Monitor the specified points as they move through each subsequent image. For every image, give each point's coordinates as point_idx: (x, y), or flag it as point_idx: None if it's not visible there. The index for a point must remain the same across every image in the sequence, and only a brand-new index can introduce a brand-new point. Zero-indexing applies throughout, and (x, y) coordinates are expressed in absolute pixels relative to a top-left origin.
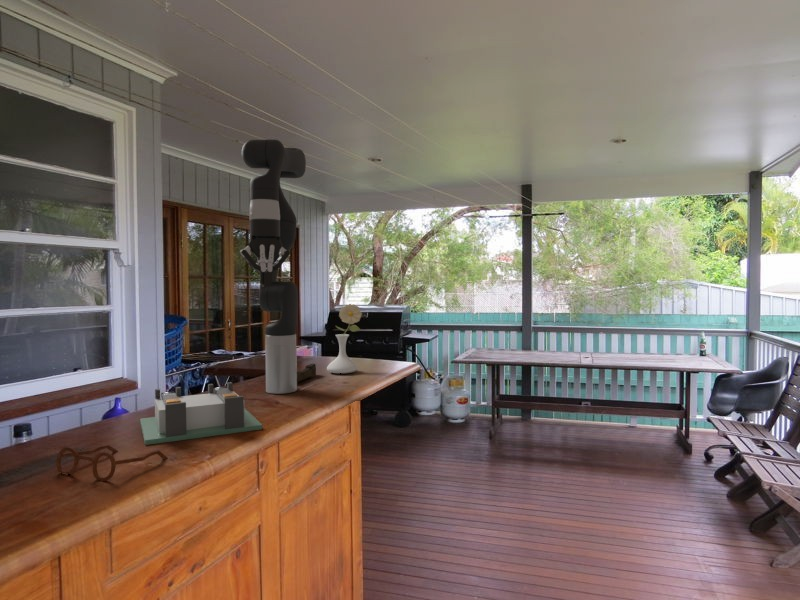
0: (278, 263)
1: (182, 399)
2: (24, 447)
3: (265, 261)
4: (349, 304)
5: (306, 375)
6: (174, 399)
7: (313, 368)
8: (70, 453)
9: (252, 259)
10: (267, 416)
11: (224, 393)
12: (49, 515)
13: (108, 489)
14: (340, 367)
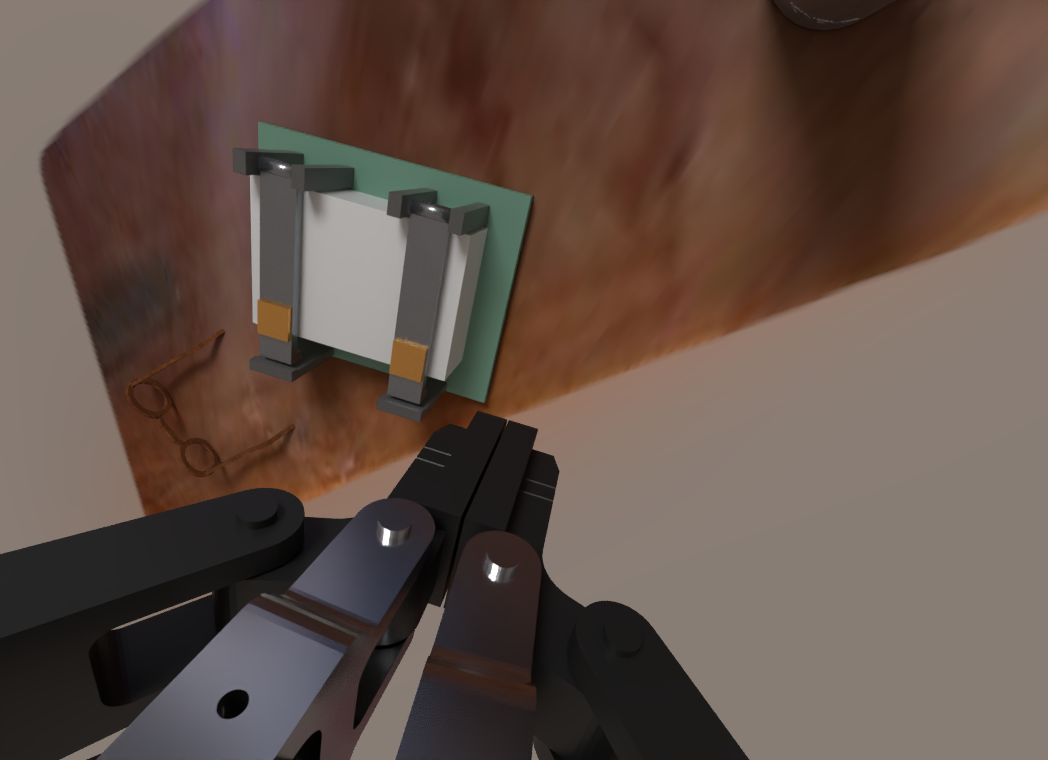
0: None
1: (315, 241)
2: (63, 171)
3: (421, 682)
4: None
5: None
6: (276, 312)
7: None
8: (144, 379)
9: (92, 730)
10: (552, 308)
11: (411, 309)
12: (171, 504)
13: (220, 482)
14: None
